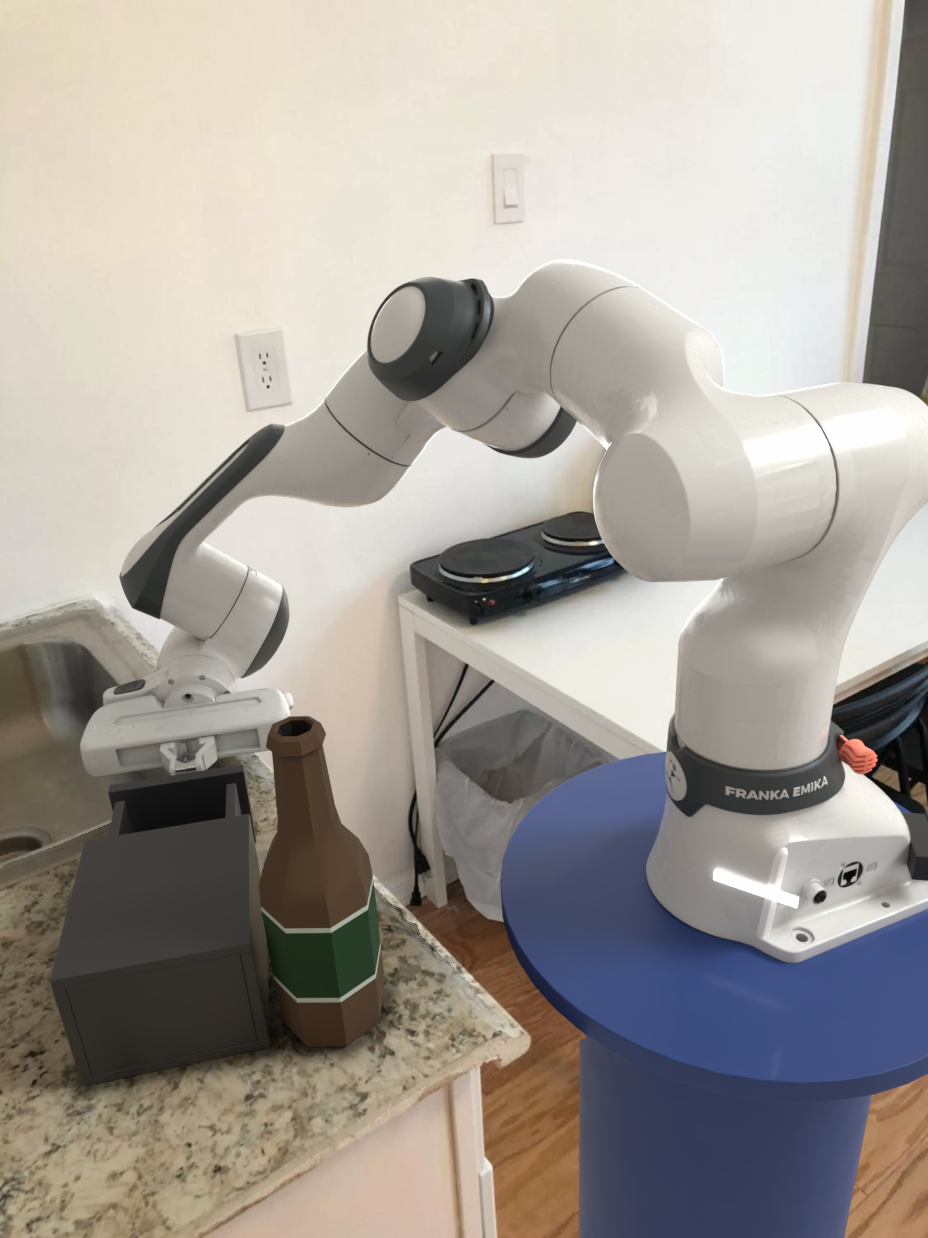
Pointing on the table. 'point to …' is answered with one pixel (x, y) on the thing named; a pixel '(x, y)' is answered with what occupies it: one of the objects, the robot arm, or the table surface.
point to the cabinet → (164, 951)
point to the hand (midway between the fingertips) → (186, 775)
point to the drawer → (179, 800)
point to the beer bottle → (318, 900)
